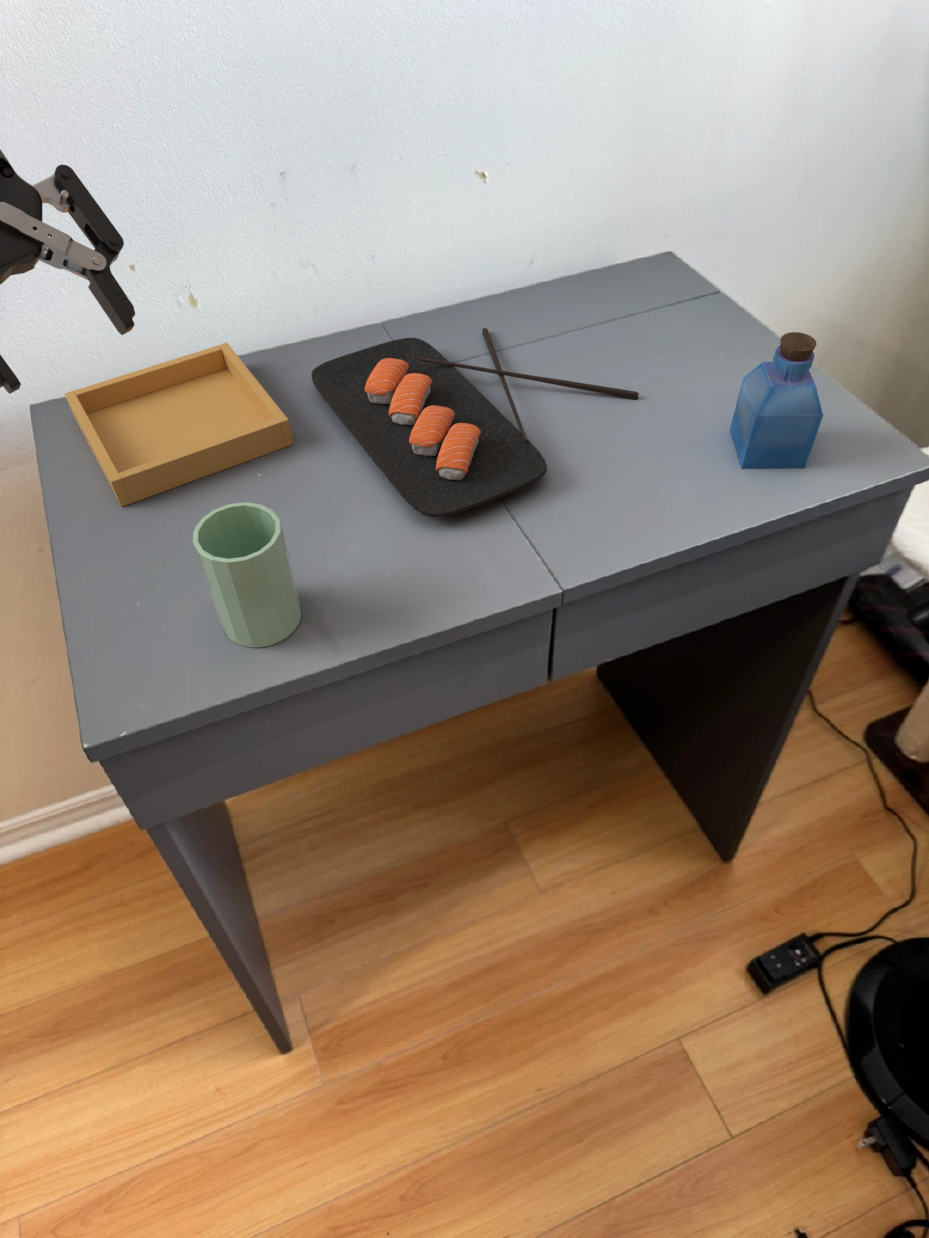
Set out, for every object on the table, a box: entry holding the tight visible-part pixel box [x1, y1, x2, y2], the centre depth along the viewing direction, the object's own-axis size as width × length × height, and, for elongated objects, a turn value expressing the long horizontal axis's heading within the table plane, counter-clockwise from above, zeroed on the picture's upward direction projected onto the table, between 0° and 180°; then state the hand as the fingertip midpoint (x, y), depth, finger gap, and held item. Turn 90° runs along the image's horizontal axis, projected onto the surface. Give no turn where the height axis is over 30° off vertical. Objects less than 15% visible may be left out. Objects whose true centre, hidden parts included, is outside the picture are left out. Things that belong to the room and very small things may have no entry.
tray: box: [64, 342, 294, 508], centre depth 90 cm, size 18×17×3 cm
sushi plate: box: [310, 327, 640, 518], centre depth 92 cm, size 29×30×4 cm
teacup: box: [192, 501, 302, 648], centre depth 70 cm, size 7×7×10 cm
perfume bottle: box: [729, 331, 824, 469], centre depth 83 cm, size 6×6×12 cm
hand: (73, 358), depth 58 cm, fingers open, 8 cm apart
